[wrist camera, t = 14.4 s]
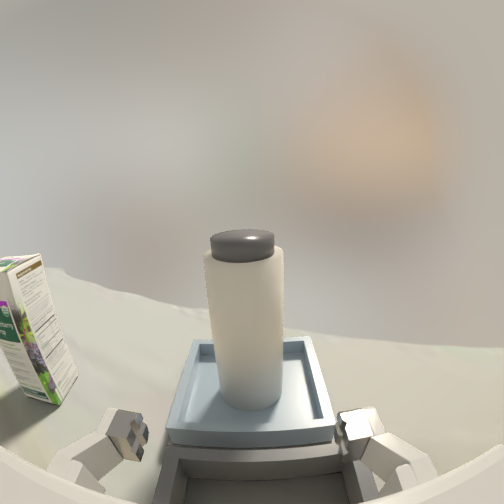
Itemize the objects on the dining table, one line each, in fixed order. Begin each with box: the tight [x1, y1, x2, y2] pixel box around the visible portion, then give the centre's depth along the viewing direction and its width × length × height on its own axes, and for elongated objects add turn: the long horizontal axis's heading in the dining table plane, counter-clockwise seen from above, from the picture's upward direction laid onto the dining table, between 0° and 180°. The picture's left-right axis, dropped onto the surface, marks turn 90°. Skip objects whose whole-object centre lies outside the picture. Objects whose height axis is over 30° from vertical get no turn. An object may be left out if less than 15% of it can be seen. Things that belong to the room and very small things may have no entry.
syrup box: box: [0, 253, 79, 405], centre depth 20 cm, size 6×6×14 cm
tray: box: [166, 336, 336, 448], centre depth 24 cm, size 13×13×2 cm
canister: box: [203, 229, 284, 411], centre depth 22 cm, size 6×6×14 cm
